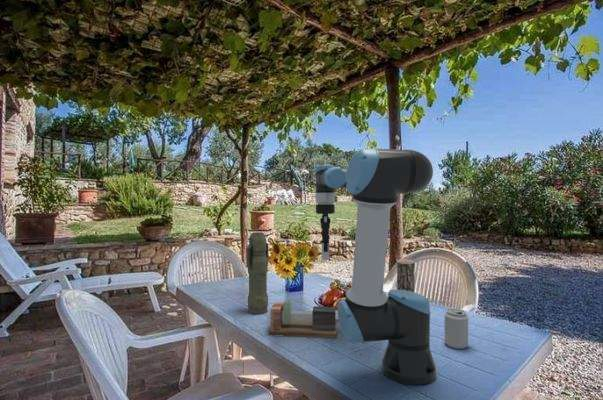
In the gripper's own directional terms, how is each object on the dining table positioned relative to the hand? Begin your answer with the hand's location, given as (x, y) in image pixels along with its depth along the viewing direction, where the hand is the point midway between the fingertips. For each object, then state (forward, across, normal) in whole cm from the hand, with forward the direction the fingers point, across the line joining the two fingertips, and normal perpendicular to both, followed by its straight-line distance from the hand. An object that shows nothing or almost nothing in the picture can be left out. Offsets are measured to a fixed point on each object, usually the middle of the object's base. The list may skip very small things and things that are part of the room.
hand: (325, 257), depth 140 cm
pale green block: (+24, +6, -12) cm, 27 cm away
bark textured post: (+27, -5, +33) cm, 43 cm away
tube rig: (+27, +6, -8) cm, 29 cm away
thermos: (+27, -15, -30) cm, 43 cm away
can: (+28, +16, +45) cm, 55 cm away
